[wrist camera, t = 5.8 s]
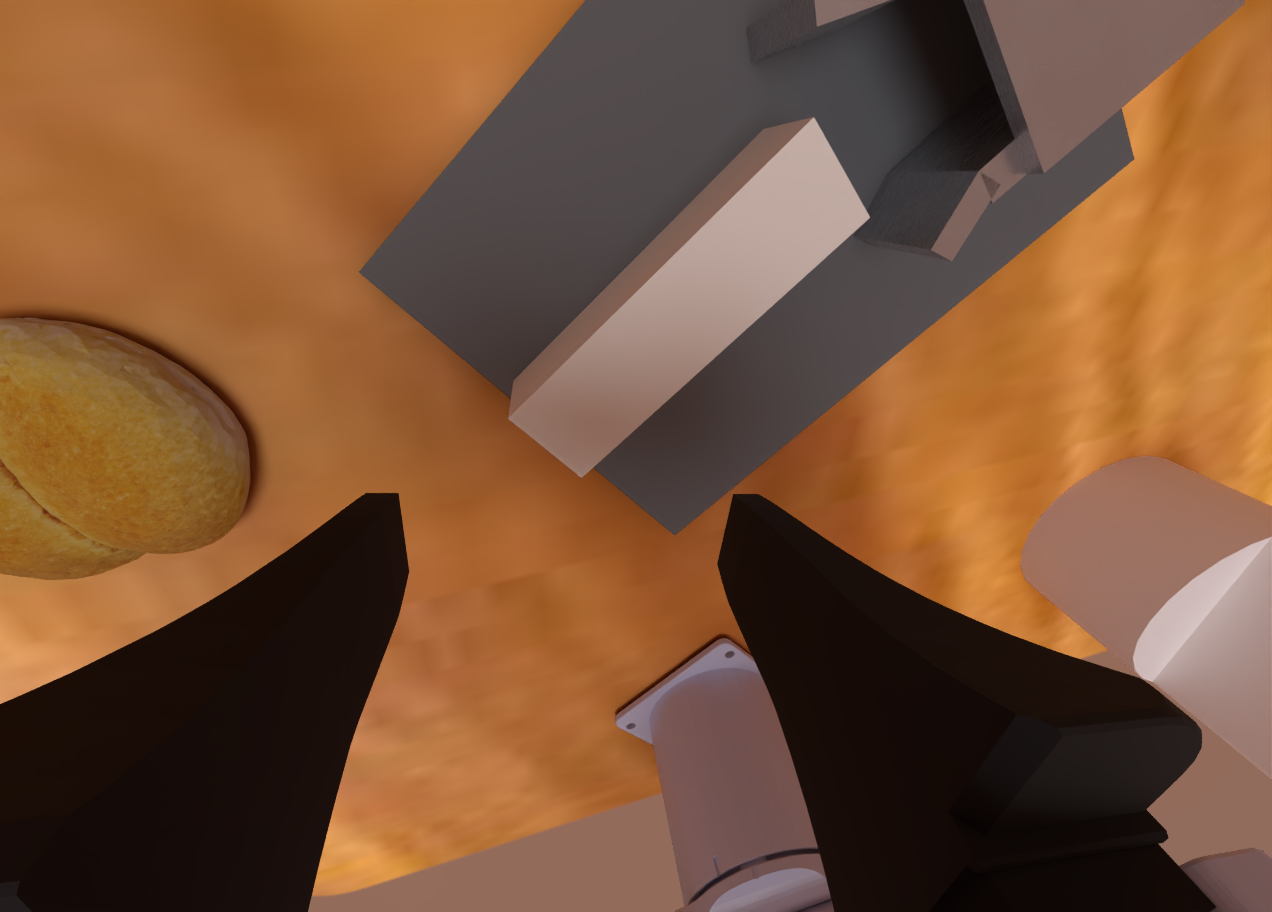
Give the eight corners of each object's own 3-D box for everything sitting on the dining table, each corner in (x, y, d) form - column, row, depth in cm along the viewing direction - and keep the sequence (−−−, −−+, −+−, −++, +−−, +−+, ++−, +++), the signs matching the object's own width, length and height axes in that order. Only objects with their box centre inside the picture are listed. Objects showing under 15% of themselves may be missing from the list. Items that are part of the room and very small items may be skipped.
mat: (1122, 159, 17) (1134, 159, 17) (672, 529, 22) (674, 535, 22) (963, -448, 11) (977, -469, 10) (363, 270, 15) (359, 272, 15)
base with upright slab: (1069, 457, 24) (1472, 670, 14) (1218, 453, 25) (1682, 641, 15) (994, 597, 28) (1257, 841, 18) (1125, 587, 30) (1438, 805, 19)
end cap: (1073, 65, 15) (1247, 28, 12) (863, 252, 17) (954, 273, 13) (989, -233, 12) (1195, -424, 8) (736, 38, 14) (810, -16, 10)
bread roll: (306, 503, 19) (253, 575, 16) (61, 560, 18) (-50, 647, 15) (167, 280, 15) (53, 310, 11) (-154, 344, 14) (-375, 397, 11)
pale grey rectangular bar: (575, 433, 19) (581, 478, 16) (513, 380, 17) (507, 418, 15) (814, 211, 16) (870, 217, 13) (763, 128, 15) (814, 116, 12)
